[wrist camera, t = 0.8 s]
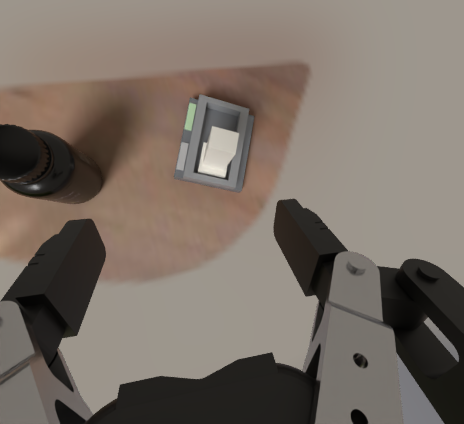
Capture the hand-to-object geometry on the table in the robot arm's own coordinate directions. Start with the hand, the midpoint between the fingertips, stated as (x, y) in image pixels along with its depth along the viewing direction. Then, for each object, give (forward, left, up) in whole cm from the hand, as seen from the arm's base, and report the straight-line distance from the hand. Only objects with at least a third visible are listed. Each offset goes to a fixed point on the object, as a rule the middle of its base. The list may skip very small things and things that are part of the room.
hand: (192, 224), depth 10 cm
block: (+2, +10, -21) cm, 24 cm away
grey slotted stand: (+2, +13, -23) cm, 26 cm away
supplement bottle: (-15, +4, -23) cm, 28 cm away
